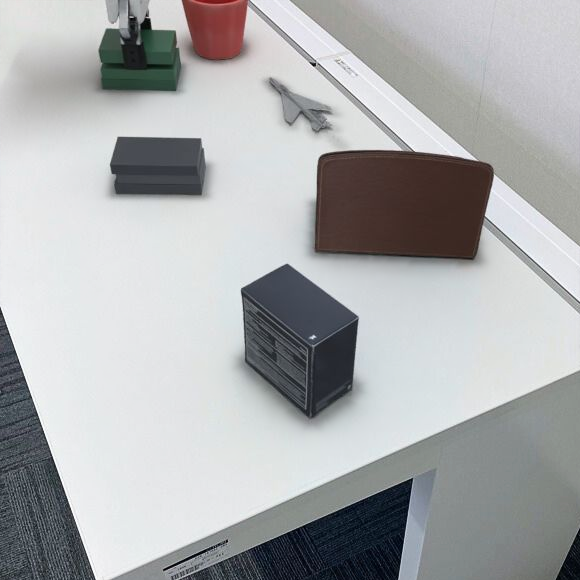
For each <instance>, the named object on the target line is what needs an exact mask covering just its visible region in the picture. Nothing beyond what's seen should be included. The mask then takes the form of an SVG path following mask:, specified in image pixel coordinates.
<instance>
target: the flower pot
mask: <svg viewBox="0 0 580 580" xmlns="http://www.w3.org/2000/svg"><path fill="white" fill-rule="evenodd" d="M181 3H182V8H183V11H184V16H185V19H186V24H187V29H188V32H189V35H190V39H191V42H192V45H193V49H194V51H195V52H196V53H197V55H199V56H201V57H203V58H206V59H209V60H216V61H217V60H229V59H232V58H234V57H236V56H238V55H239V54H240V53H242V52H241V51H242V50H243V49H242V48H243V42H244V36H245V29H246V28H245V27H246V22H247V21H246V20H247V13H248V4H249V0H181Z"/></svg>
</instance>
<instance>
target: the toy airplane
mask: <svg viewBox="0 0 580 580" xmlns="http://www.w3.org/2000/svg"><path fill="white" fill-rule="evenodd" d="M268 80H269V81H270V83H271V85H273V86H274V87H275V89H276V90H277V91H278V92H279V93H281V99H282V106H283V112H284V120H285V121H287V122H288V123H289V124H293V122H294V121H295V119H296V118H297V116H299V114H300V112H301V113H302V114H303V115H304V116H305V117H307V118H308V119H309V120H310V121H311V127H312V128H313V129H314V131H315V132H319V130H320V129H321V128H322V129H324V128H325V127H332V128H334V126H335V125H333V124H332V123H330V121H328V118H327V117H326V116H325V115H324V114H322V113H320V112H317V111H314V110H319V111H327V112H334V110H333V109H332V106H329V105H327V104H324V103H322V102H319V101H316V100H313V99H311V98H308V97H306V96H303V95H301V94H298V93H295V92H292V91H290V89H288V88H287V86H286V85H284V84H282V83H280V82H279V80H277V79H275V78H274V77H271V76H270V77H268ZM330 133H331V131H328V134H330ZM332 138H335V136H332ZM336 141H337V142H339V139H337V140H336Z"/></svg>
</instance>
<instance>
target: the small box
mask: <svg viewBox="0 0 580 580" xmlns="http://www.w3.org/2000/svg"><path fill="white" fill-rule="evenodd" d="M240 295H241V303H242V320H243V337H244V339H243V340H244V362H245V363H246V364H247V365H248V366H249V367H250V368H251V369H253V370H254V371H255V372H256V373H257V374H259V375H260V377H262V378H263V379H264V380H265V381H266V382H267V383H269V385H270V386H272V387H273V388H274V389H275V390H277V391H278V392H279V393H280V394H282V396H283V397H285V398H286V399H287V400H288V401H289V402H290V403H291V404H292V405H294V407H296V408H297V409H299V410H300V411H301V412H302V413H303V414H304V415H305V416H307V417H308V418H309V419H310V418H314V417H315V416H317V415H318V414H319V413H320V412H322V411H323V410H324V409H325V408H327V407H328V406H330V405H331V404H333V403H334V402H336V401H337V400H339V399H340V398H342V397H343V396H345V395H346V394H347V393H348V392H349V391H351V390H352V389H353V386H354V374H355V361H356V353H357V352H356V350H357V340H358V339H357V338H358V330H359V320H360V316H359V315H358V314H356V313H355V312H353V311H352V310H351V309H349V308H348V307H347V306H345V305H344V304H343V303H341V302H340V301H338V300H337V299H336V298H335V297H333V296H332V295H330V294H329V293H328V292H327V291H325V290H324V289H323V288H322V287H320V286H318V285H317V284H316V283H314V282H313V281H312V280H310V279H309V278H308V277H307V276H305V275H304V274H302V273H301V272H300V271H298V270H297V269H296V268H295V267H293V266H292V265H290V264H289V263H285V264H282V265H281V266H279V267H277V268H275V269H273V270H272V271H270V272H268V273H266V274H264V275H262V276H261V277H259V278H257V279H256V280H254V281H252V282H250V283H248V284H246V285H244V286H243V287H241V288H240Z"/></svg>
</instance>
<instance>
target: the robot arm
mask: <svg viewBox="0 0 580 580" xmlns="http://www.w3.org/2000/svg"><path fill="white" fill-rule="evenodd" d="M149 4H150V0H105V8H106V15H107V20H108V22H109V24H111V25H114V24H117V22H118V29H119V31H120V41H121V48H122V53H123V59H124V65H125V68H126V69H143V70H145V69H146V68H147V61H146V54H145V48H144V42H141V30H140V29H146V30H153V27H152V26H153V25H152V19H151V17H150V9H149ZM131 29H135V32H136V35H135V33H134V31H131Z"/></svg>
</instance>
